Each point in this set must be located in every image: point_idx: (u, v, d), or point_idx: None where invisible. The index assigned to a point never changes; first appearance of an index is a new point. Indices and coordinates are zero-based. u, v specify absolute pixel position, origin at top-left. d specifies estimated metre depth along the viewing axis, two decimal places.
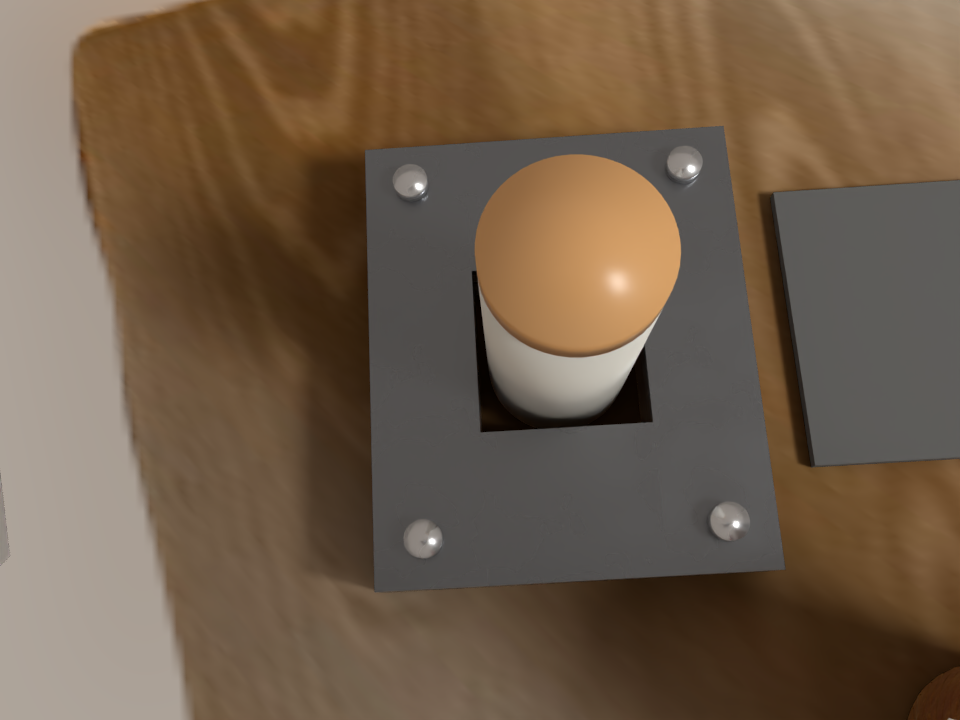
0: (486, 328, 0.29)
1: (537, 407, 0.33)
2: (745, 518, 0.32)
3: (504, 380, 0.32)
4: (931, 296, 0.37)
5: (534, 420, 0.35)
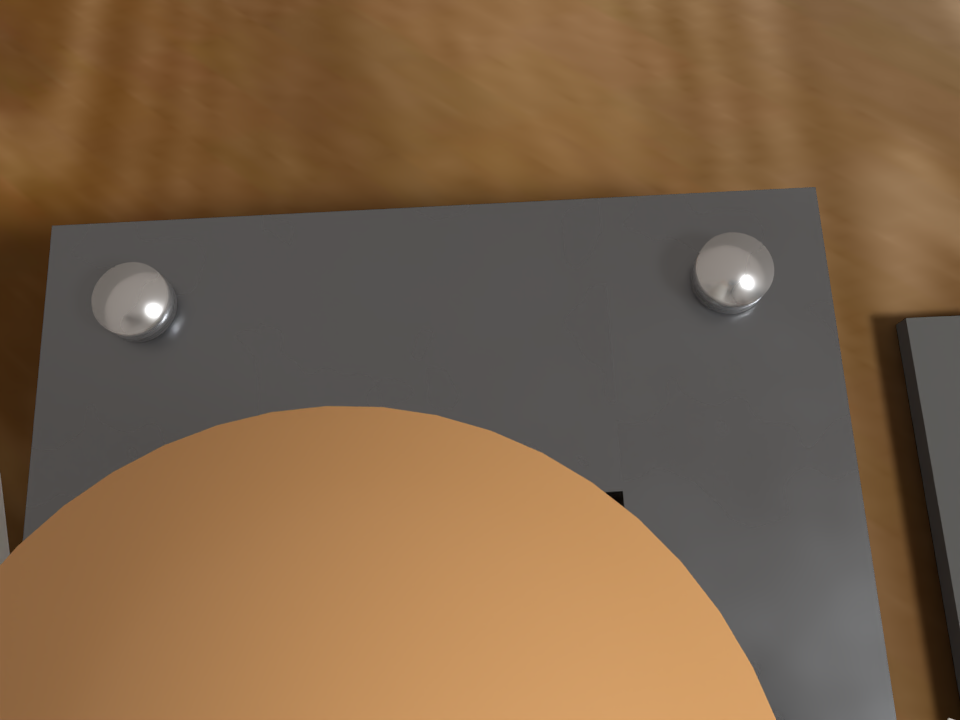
0: None
1: None
2: None
3: None
4: None
5: None
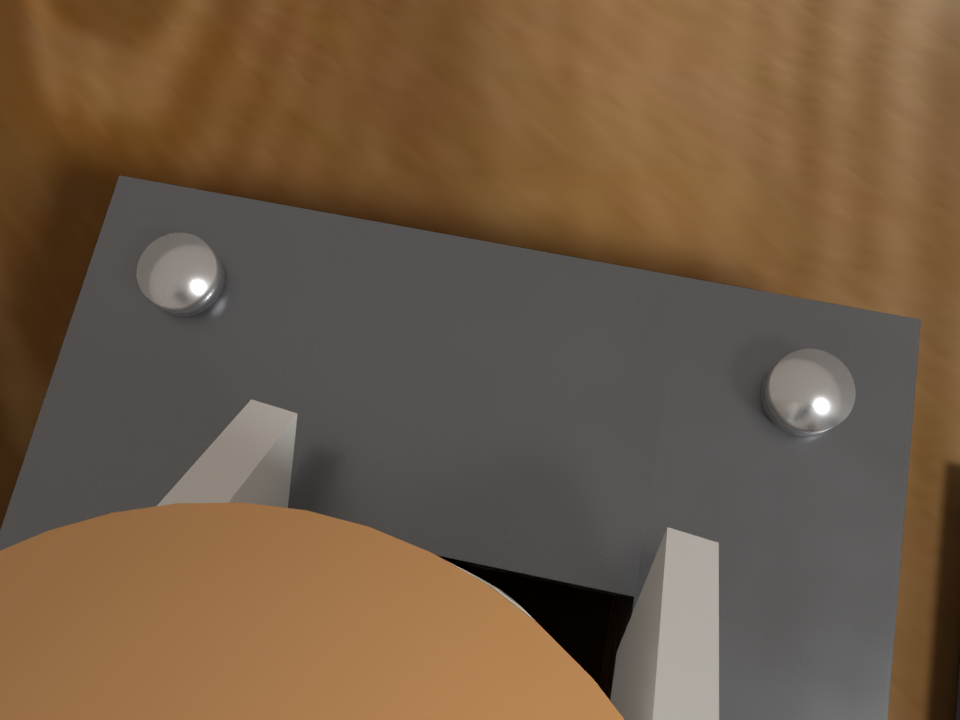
0: None
1: None
2: None
3: None
4: None
5: None
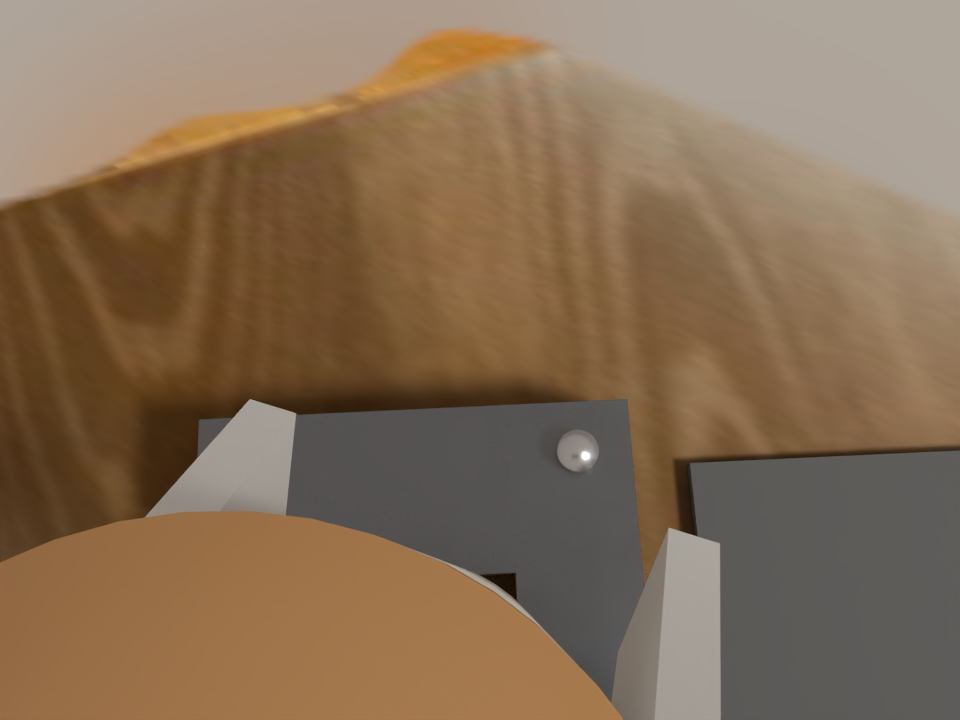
0: None
1: None
2: None
3: None
4: (871, 601, 0.31)
5: None
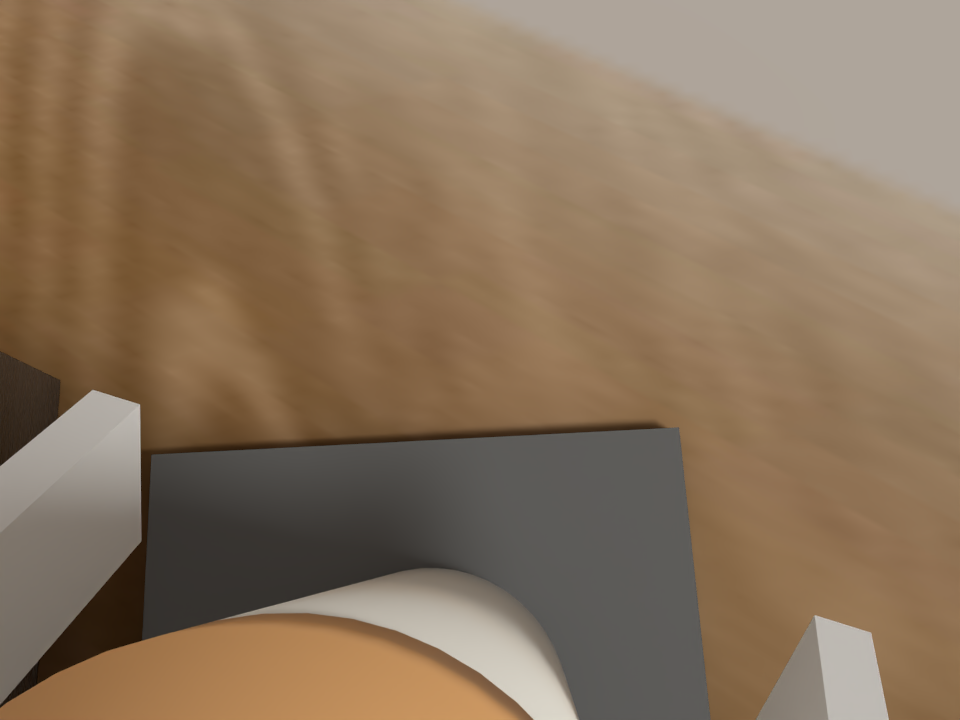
0: None
1: None
2: None
3: None
4: None
5: None
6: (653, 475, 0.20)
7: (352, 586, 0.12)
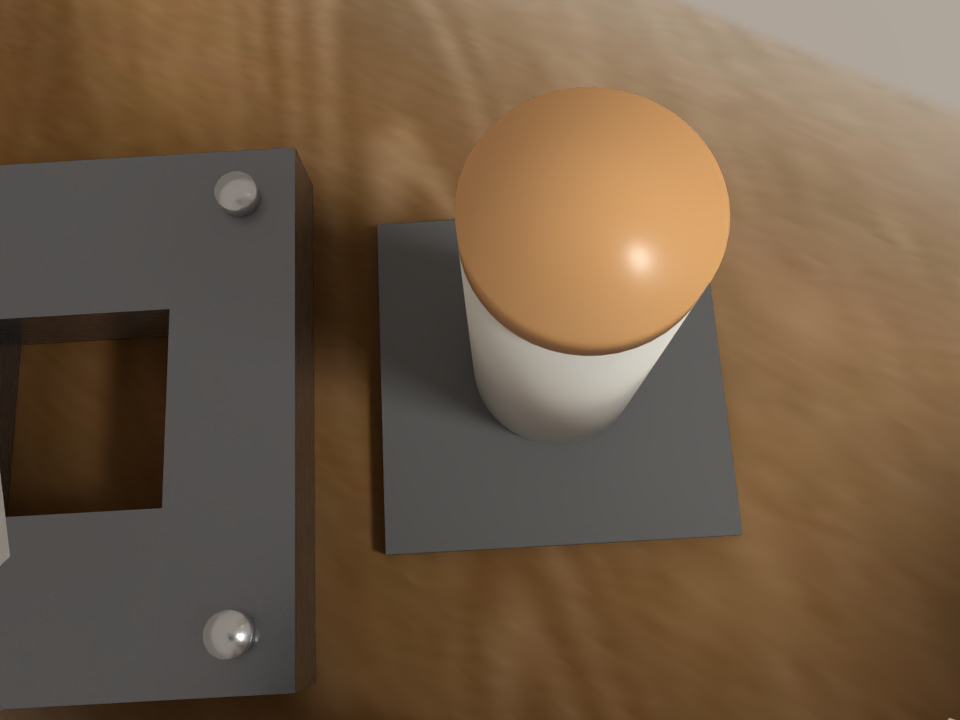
0: (467, 308, 0.23)
1: (524, 413, 0.27)
2: (244, 631, 0.26)
3: (487, 376, 0.26)
4: None
5: (521, 428, 0.29)
6: None
7: None
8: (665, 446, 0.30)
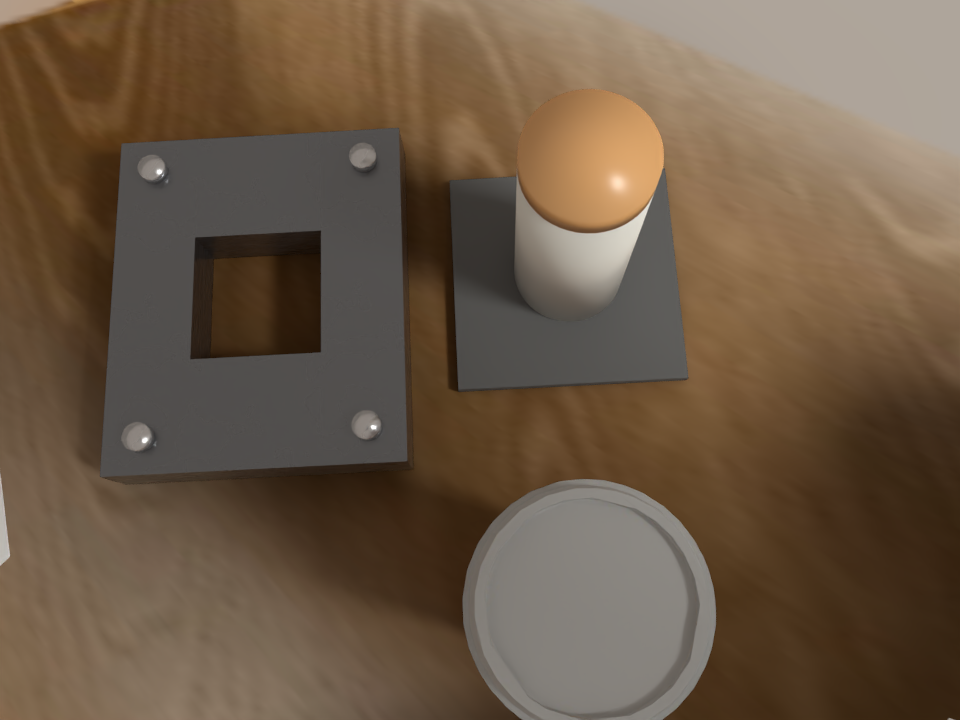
0: (518, 217, 0.39)
1: (549, 291, 0.43)
2: (377, 422, 0.42)
3: (527, 266, 0.42)
4: None
5: (546, 307, 0.45)
6: None
7: None
8: (639, 322, 0.47)
